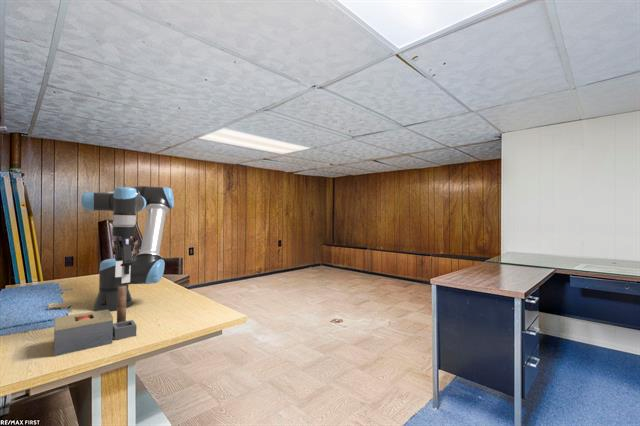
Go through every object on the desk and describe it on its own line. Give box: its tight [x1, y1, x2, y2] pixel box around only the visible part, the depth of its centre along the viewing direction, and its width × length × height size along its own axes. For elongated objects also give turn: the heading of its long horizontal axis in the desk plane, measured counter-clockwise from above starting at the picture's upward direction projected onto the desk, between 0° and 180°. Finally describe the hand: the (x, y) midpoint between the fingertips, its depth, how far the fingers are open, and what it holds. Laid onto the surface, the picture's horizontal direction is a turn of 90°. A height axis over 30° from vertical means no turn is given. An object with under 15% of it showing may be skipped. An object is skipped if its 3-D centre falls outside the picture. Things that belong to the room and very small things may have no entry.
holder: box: [113, 319, 137, 341], centre depth 111 cm, size 7×7×4 cm
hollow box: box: [53, 309, 114, 357], centre depth 103 cm, size 11×15×9 cm
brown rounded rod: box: [116, 286, 127, 323], centre depth 118 cm, size 3×3×16 cm
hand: (122, 279), depth 118 cm, fingers open, 13 cm apart
